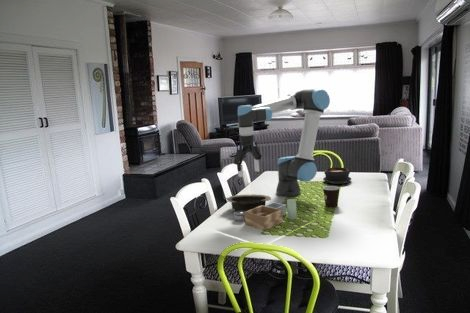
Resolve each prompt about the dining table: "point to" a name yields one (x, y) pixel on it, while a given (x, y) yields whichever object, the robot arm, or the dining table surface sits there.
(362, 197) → the dining table surface
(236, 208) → the stone bowl
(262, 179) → the dining table surface
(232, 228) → the dining table surface
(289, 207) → the pale green block
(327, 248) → the dining table surface
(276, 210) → the oak crate
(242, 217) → the pewter tin
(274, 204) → the grey tub
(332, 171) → the casserole
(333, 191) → the coffee mug
